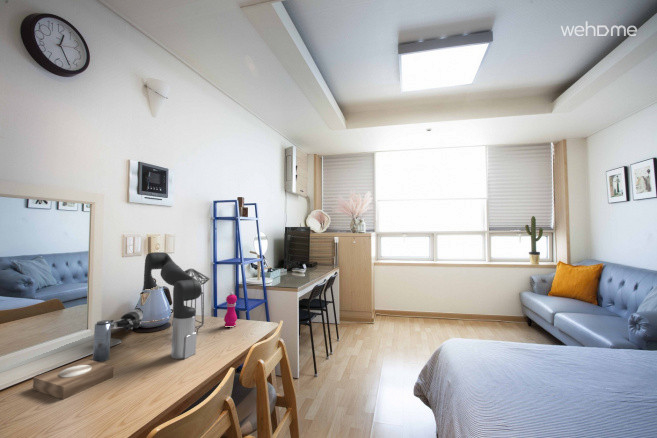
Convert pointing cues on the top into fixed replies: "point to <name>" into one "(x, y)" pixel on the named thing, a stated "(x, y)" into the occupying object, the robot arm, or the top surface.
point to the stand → (72, 378)
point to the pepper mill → (230, 310)
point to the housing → (102, 341)
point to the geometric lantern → (201, 293)
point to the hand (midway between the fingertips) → (115, 329)
